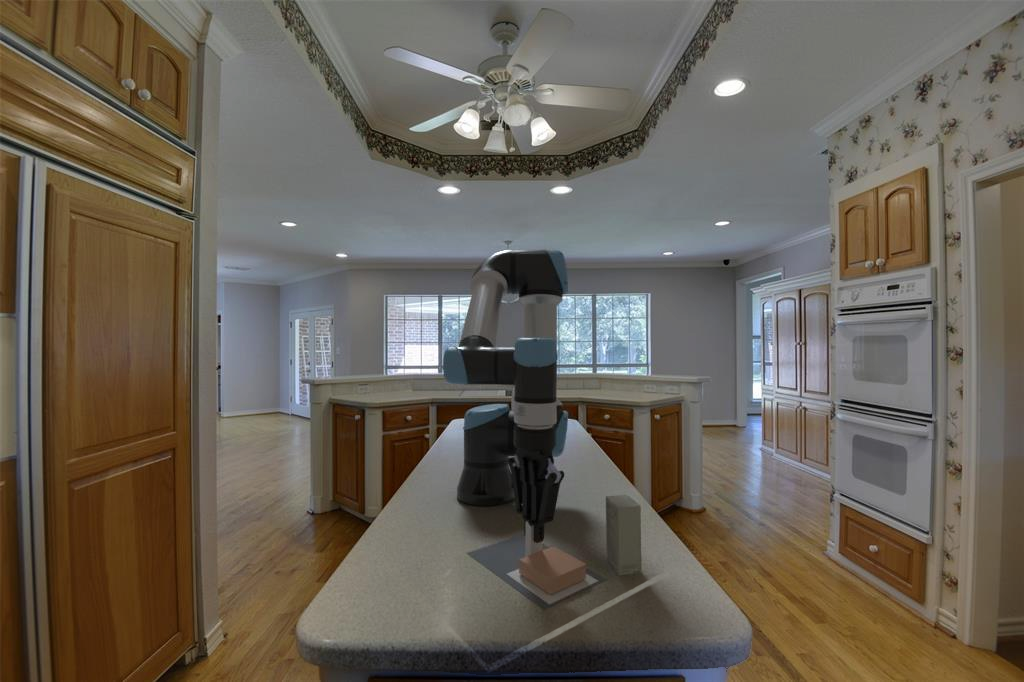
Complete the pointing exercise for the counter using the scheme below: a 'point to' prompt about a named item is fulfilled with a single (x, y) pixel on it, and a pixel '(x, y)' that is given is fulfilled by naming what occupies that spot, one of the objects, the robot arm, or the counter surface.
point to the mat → (506, 566)
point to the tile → (552, 569)
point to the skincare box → (623, 534)
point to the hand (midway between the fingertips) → (533, 557)
